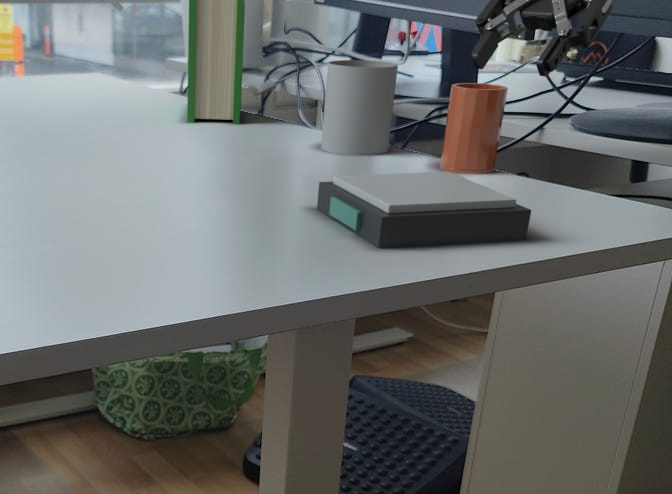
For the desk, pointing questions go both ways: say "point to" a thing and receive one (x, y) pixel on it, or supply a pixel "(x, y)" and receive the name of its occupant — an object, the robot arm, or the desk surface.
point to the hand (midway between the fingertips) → (507, 67)
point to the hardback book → (215, 59)
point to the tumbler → (473, 127)
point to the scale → (421, 210)
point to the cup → (358, 106)
